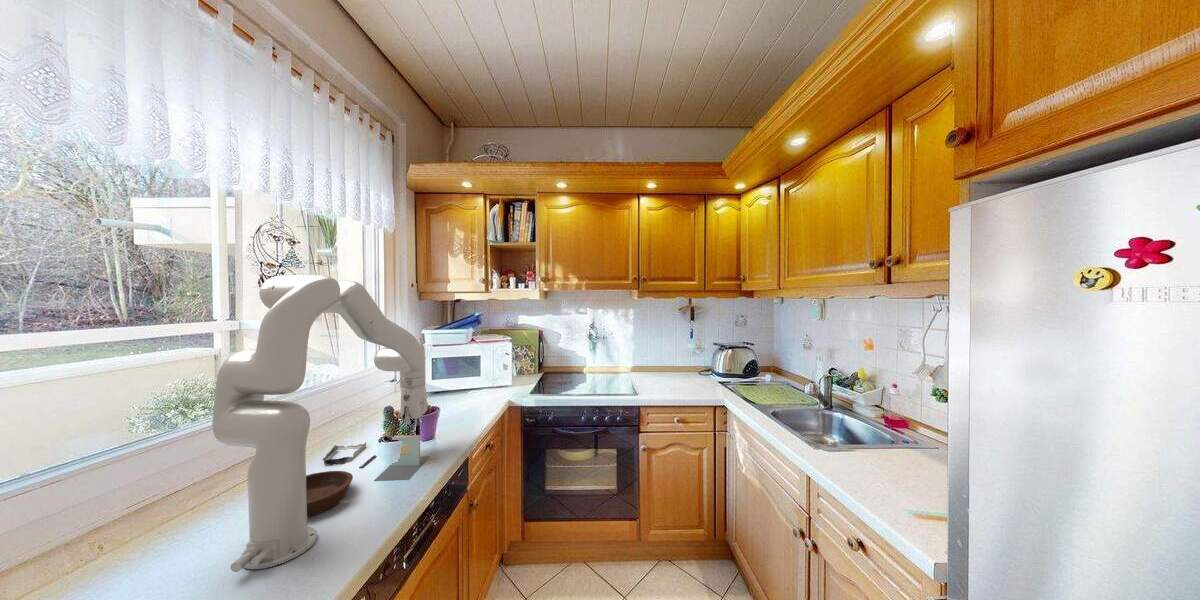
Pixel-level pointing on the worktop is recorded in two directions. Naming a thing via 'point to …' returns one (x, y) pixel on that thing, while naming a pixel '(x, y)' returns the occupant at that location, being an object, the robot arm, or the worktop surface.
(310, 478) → the dish
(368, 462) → the dark grey thin rod
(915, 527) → the worktop surface
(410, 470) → the mat
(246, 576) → the worktop surface
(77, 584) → the worktop surface
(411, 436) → the tile
